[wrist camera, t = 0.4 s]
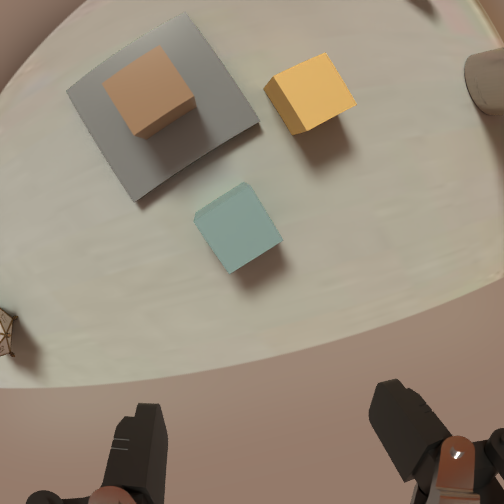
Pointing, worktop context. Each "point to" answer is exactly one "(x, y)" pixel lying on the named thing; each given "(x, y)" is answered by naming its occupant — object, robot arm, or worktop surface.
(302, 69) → the ochre block
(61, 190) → the worktop surface
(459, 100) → the worktop surface
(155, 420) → the robot arm
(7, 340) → the game die
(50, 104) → the worktop surface
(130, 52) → the baseplate
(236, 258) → the teal block
